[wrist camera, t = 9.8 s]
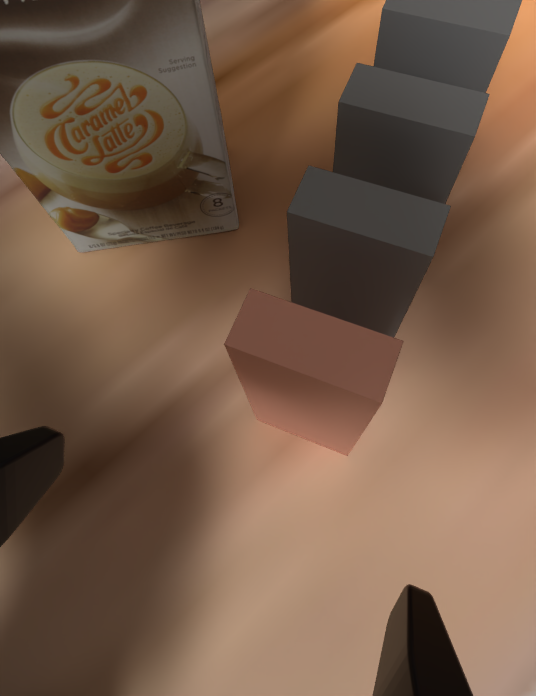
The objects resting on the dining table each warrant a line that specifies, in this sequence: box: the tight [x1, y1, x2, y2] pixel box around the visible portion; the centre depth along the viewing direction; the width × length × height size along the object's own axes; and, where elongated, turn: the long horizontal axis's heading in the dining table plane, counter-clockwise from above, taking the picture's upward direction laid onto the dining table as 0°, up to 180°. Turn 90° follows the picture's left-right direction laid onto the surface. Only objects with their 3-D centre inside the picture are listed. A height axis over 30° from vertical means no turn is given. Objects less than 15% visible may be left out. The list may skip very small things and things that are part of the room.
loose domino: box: [224, 288, 403, 456], centre depth 18 cm, size 2×4×10 cm, turn 67°
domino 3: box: [287, 166, 451, 338], centre depth 19 cm, size 2×4×10 cm, turn 67°
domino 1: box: [373, 0, 522, 93], centre depth 21 cm, size 2×4×10 cm, turn 67°
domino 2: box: [333, 63, 489, 204], centre depth 20 cm, size 2×4×10 cm, turn 67°
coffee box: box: [0, 0, 239, 252], centre depth 20 cm, size 9×6×16 cm
